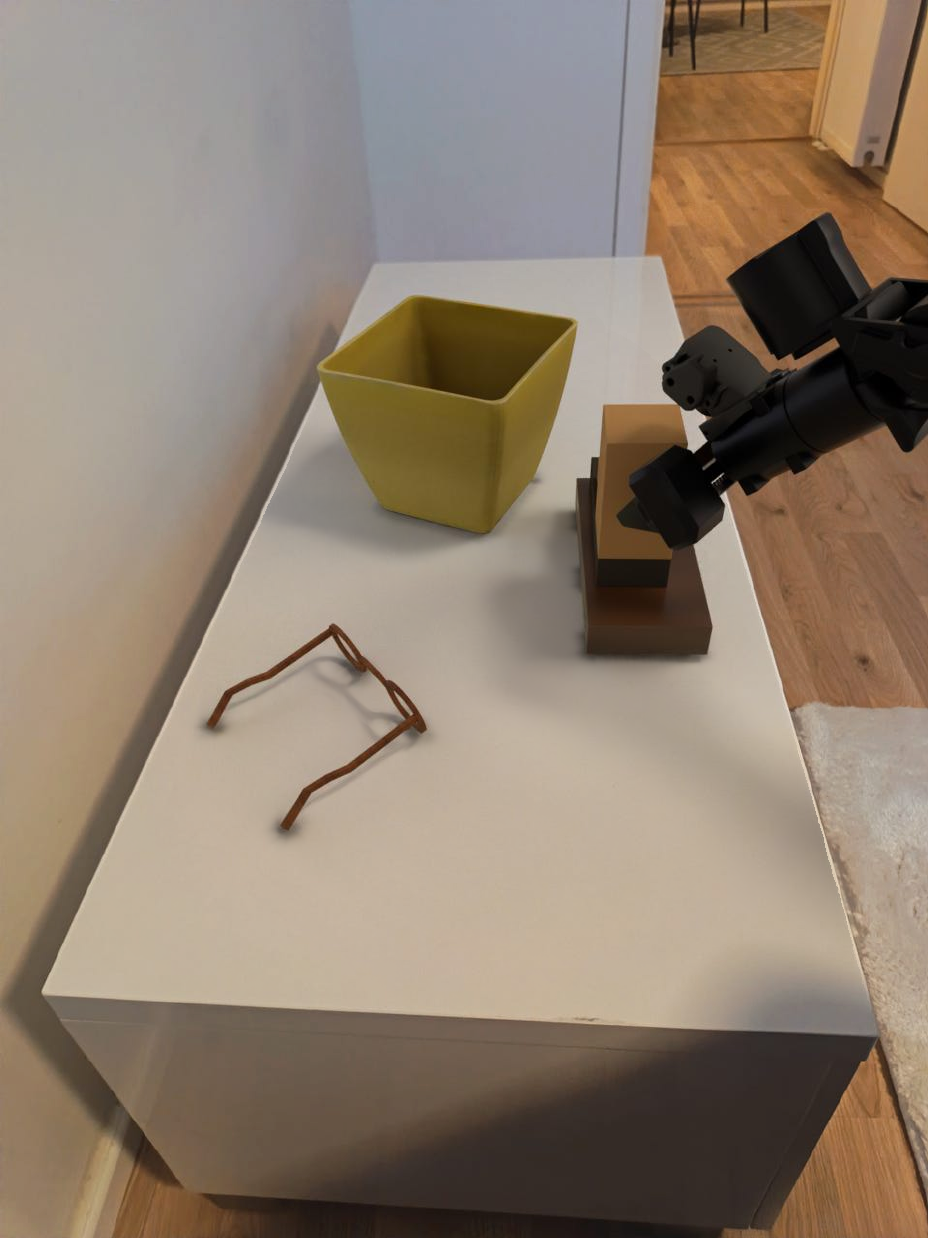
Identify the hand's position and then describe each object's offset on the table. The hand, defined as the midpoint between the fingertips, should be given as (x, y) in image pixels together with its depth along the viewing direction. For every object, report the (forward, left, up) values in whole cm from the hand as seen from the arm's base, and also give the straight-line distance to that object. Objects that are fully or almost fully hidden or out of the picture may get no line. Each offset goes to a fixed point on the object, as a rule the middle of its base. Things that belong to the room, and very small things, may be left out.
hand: (653, 493), depth 70 cm
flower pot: (+25, +5, -12) cm, 29 cm away
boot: (+6, -2, -8) cm, 10 cm away
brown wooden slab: (+4, -2, -12) cm, 13 cm away
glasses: (+1, +31, -12) cm, 33 cm away
